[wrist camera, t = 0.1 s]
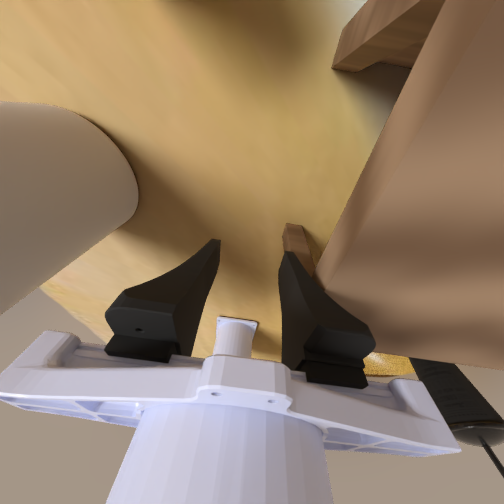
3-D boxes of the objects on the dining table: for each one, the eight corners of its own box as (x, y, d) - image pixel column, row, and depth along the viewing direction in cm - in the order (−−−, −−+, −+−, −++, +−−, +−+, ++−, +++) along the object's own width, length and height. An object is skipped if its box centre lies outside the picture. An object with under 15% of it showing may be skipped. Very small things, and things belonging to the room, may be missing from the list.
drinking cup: (399, 326, 34) (516, 512, 18) (445, 326, 33) (611, 521, 17) (386, 346, 39) (471, 509, 23) (426, 346, 38) (544, 517, 22)
